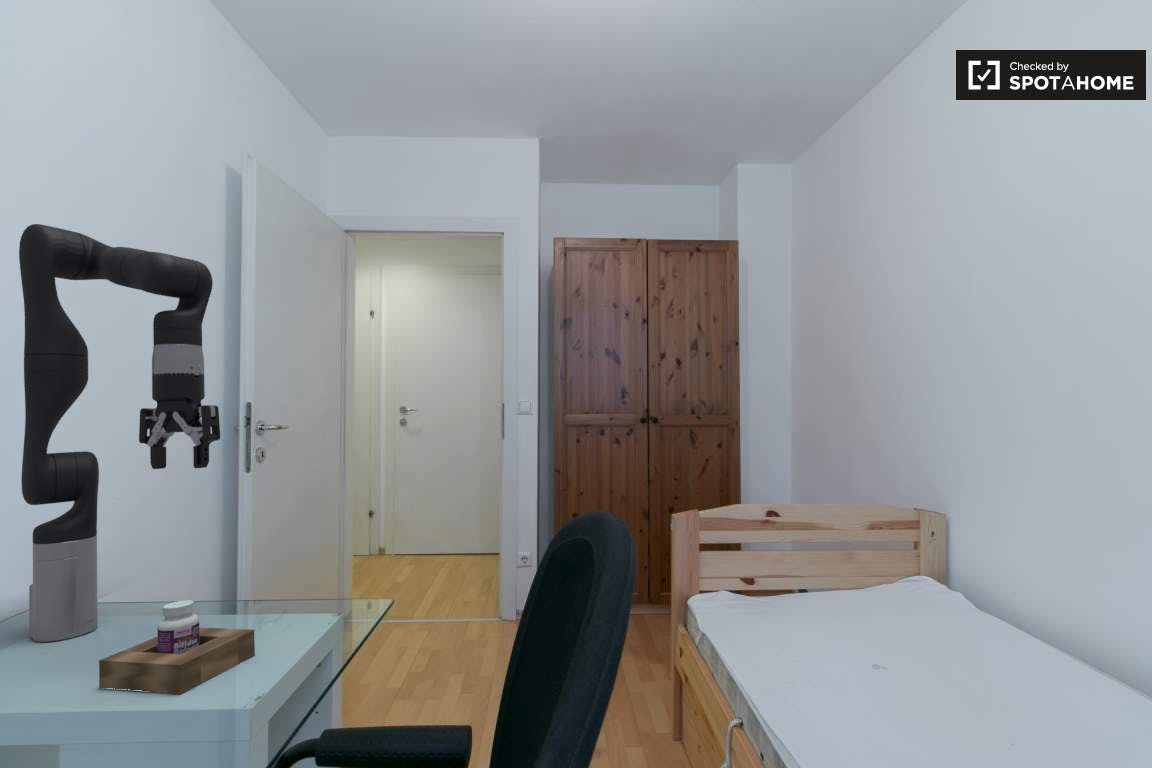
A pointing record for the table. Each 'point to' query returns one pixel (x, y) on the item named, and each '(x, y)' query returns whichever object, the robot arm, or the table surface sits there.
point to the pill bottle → (178, 628)
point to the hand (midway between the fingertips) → (179, 468)
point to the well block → (176, 662)
